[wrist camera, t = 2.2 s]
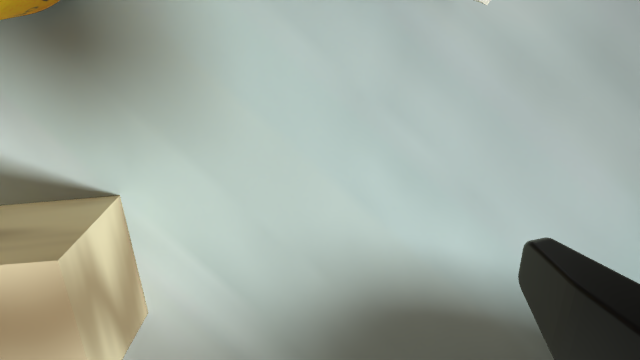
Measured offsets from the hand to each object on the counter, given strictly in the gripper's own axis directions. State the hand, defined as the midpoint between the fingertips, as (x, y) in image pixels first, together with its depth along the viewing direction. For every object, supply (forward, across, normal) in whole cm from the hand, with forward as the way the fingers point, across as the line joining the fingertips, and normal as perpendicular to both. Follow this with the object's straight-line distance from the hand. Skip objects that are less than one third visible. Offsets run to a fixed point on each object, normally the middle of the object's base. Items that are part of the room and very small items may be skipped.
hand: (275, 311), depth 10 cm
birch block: (+12, +7, +8) cm, 16 cm away
